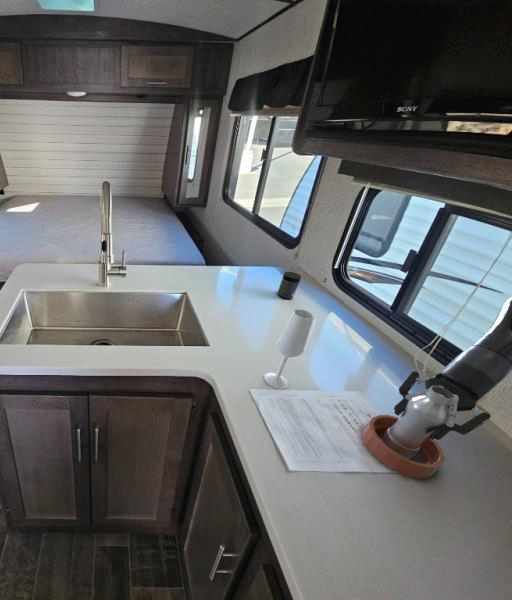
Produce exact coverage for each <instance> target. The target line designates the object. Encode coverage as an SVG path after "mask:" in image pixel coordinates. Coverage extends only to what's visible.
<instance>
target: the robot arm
mask: <svg viewBox="0 0 512 600" xmlns="http://www.w3.org/2000/svg"><path fill="white" fill-rule="evenodd" d="M511 372H512V296H511V297H509V298H508V299H506V301H505V302H503V304H502V306H501V307H500V309H499V310H498V313H497V315H496V317H495V319H494V321H493V323H492V325H491V326H490V327H489V329H488V330H487V331H486V332H485V333H484V334H483V335H482V336H481V337H480V338H479V339H477V340H476V341H475V342H474V343H473V344H472V345H471V346H470V347H468V348H467V349H465V350H463V351H462V352H461V353H459V354H458V355H456V356H455V357H454V358H453V359H452V360H451V361H450V362H449V363H448V364H447V365H446V366H444V367H443V368H442V369H441V370H440V371H439V372H438V373H436V374H435V375H434V376H431V377H426V376H424V375H421V374H420V373H419V371H417V370H416V371H415V370H414V371H412V372H411V373H410V374H409V376H407V378H406V379H405V380H404V382H403V383H402V384H401V385H400V386H399V387H398V393H399V395H400V396H401V397H402V399H401V400H400V401H399V402H398V403H397V404H395V405H394V408H393V410H394V414H395V415H396V416H397V417H400V416H401V415H402V413H403V412H404V410H405V408H406V406H407V403H408V402H409V400H410V399H411V398H413V397H415V396H419V395H426V394H425V393H426V391H427V390H429V388H430V387H431V386H439V387H442V388H444V389H446V390H448V391H450V392H451V393H452V394H453V395H454V398H453V400H452V401H451V403H450V404H449V405H447V407H448V410H449V414H450V415H449V419H448V421H447V422H445V423H444V424H442V425H441V426H439V427H438V428H437V429H436V430H434V431H433V432H432V433H431V434H430V435H429V438H430V439H432V440H433V439H434V440H436V441H440V440H442V439H443V438H444V437H445V436H447V435H448V434H449V433H450V432H455V433H459V435H461V436H464V435H467V434H469V433H470V432H472V431H474V430H475V429H477V428H479V427H480V426H482V425H485V424H486V423H487V422H489V421H490V419H491V414H490V413H489V412H486V411H483V410H482V409H480V408H478V407H477V403H478V402H479V401H480V400H481V399H482V398H484V397H486V395H487V394H488V393H489V392H491V391H492V390H493V389H495V387H496V386H497V385H499V384H500V383H501V382H503V381H504V380H505V379H506V378H507V377H508V376H509V374H510V373H511ZM421 383H425V389H422V390H418V391H416V392H412V393H409V391H411V390H412V388H413V387H414V385H415V384H416V385H420V384H421ZM468 411H469V412H470V411H471V412H472V413H471V415H470V417H471V419H469V420H468V421H466V422H464V423H462V424H457V423H455V422H456V418H457V412H468Z"/></svg>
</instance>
